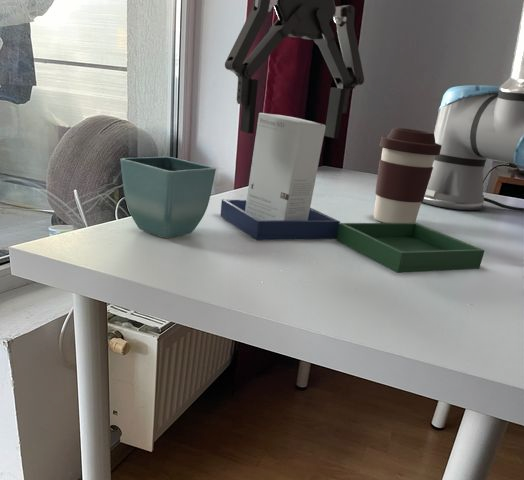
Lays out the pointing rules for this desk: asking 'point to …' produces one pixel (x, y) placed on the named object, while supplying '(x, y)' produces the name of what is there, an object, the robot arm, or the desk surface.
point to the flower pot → (166, 193)
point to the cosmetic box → (284, 167)
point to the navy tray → (279, 224)
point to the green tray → (409, 247)
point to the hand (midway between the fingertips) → (290, 135)
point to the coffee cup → (404, 174)
